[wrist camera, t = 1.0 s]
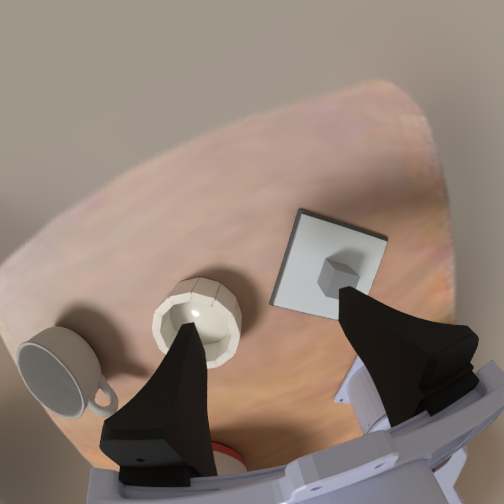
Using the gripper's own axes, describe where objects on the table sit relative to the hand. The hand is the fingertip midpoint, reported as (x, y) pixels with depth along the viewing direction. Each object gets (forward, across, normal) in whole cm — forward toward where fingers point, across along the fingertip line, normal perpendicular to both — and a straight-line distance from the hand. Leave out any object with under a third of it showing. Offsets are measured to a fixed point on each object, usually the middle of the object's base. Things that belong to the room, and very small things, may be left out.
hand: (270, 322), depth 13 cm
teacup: (+15, +23, +13) cm, 30 cm away
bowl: (+13, +6, +8) cm, 16 cm away
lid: (+12, -8, +5) cm, 15 cm away
